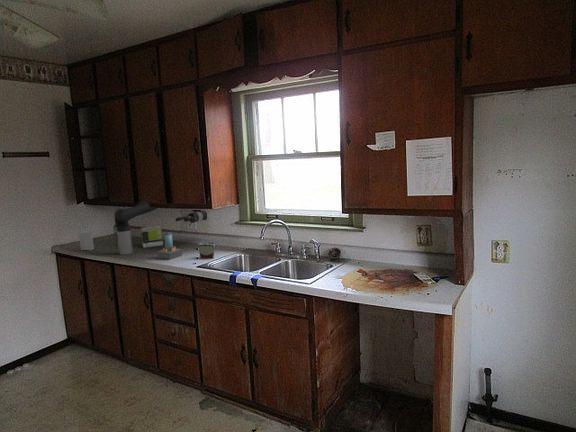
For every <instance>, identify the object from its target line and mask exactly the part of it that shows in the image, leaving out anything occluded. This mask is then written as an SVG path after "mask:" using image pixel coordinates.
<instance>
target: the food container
mask: <svg viewBox="0 0 576 432" xmlns="http://www.w3.org/2000/svg"><path fill="white" fill-rule="evenodd" d="M197 247H198V253H199V258H200V259H209V260H210V259H211V260H212V259H215V247H216V244H215V243H214V242H210V241H209V242H208V241H207V242H199V243H198V244H197Z"/></svg>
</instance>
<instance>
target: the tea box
mask: <svg viewBox="0 0 576 432" xmlns="http://www.w3.org/2000/svg"><path fill="white" fill-rule="evenodd" d="M140 233H141V244H142V246H143V248H151V247H158V246H163V245H164V242H163V241H164V240H163V234H162V227H161V226H160V225H157V226H149V227H142V228H141V227H140Z"/></svg>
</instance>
